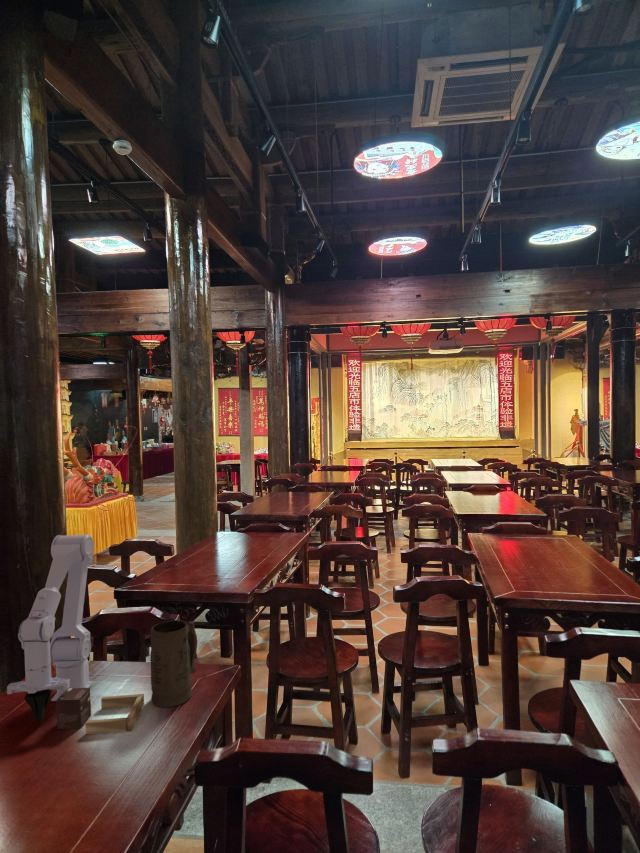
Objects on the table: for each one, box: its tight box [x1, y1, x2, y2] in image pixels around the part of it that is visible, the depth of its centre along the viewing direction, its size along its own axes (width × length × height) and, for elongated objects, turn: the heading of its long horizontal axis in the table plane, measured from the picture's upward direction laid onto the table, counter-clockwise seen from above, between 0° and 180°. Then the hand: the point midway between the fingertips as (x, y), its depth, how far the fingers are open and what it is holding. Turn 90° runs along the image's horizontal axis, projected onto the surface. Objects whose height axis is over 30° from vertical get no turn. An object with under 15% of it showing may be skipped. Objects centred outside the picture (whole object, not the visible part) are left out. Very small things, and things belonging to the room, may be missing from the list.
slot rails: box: [84, 693, 145, 735], centre depth 134 cm, size 12×11×3 cm
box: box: [55, 687, 92, 730], centre depth 133 cm, size 6×6×7 cm
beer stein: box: [149, 619, 198, 708], centre depth 146 cm, size 15×11×20 cm
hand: (40, 719), depth 133 cm, fingers closed
